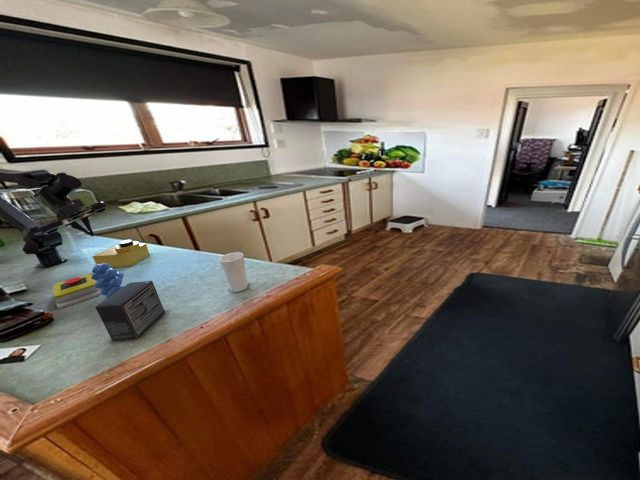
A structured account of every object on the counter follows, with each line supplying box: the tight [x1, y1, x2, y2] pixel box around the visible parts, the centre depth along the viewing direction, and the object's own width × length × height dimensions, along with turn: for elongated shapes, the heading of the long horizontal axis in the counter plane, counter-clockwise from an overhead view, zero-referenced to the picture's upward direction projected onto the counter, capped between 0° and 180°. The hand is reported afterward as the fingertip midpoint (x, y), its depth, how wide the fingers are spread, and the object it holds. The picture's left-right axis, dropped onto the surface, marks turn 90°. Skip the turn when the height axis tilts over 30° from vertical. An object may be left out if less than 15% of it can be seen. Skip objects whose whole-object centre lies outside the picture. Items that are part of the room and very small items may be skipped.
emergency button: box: [52, 273, 102, 309], centre depth 87 cm, size 9×4×15 cm
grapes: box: [91, 264, 125, 298], centre depth 83 cm, size 12×7×12 cm, turn 71°
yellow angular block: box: [92, 240, 151, 268], centre depth 107 cm, size 12×10×7 cm
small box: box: [94, 280, 166, 342], centre depth 70 cm, size 11×6×10 cm, turn 5°
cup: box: [218, 251, 249, 293], centre depth 85 cm, size 7×7×11 cm
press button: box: [118, 239, 134, 247], centre depth 106 cm, size 4×4×2 cm
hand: (93, 236), depth 104 cm, fingers closed
